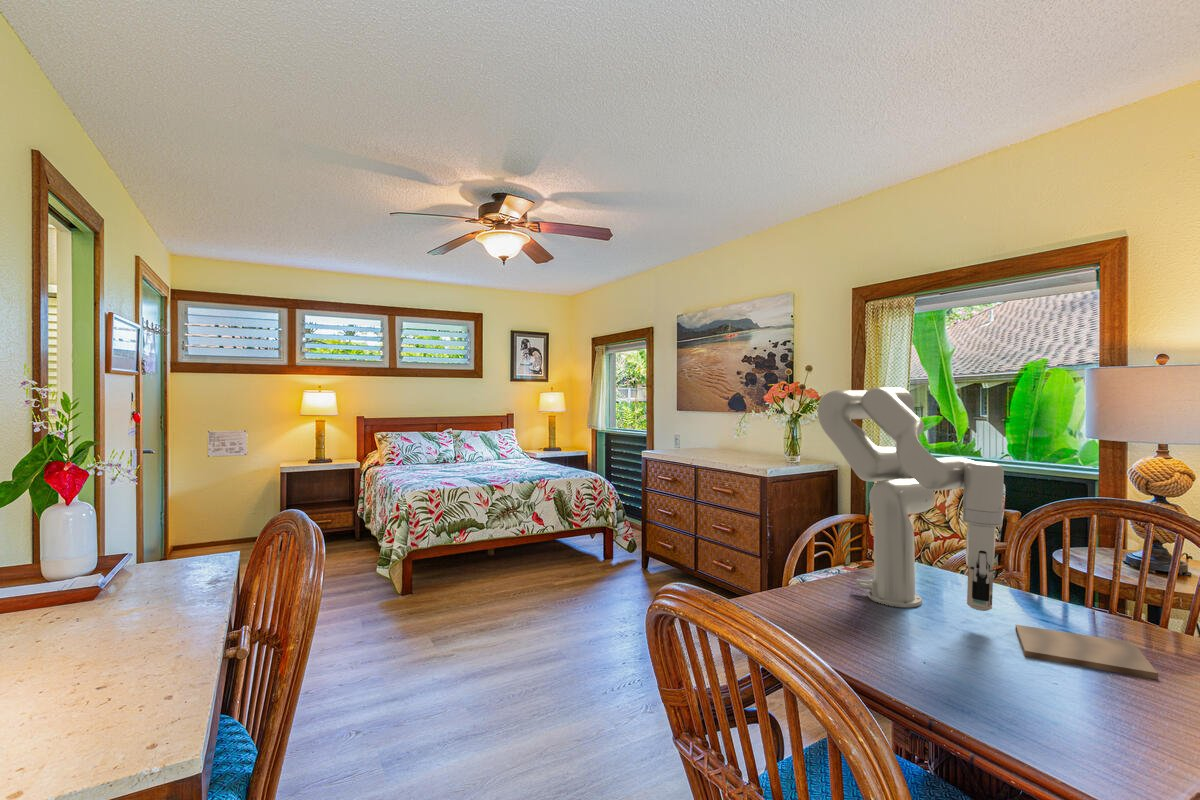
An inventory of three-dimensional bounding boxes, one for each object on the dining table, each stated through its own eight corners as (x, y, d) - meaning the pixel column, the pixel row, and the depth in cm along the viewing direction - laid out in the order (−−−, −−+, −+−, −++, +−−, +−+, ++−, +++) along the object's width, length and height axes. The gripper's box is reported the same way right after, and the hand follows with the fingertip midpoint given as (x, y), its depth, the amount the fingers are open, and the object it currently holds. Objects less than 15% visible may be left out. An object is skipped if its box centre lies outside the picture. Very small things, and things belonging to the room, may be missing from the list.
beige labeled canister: (984, 604, 133) (986, 553, 133) (996, 612, 129) (998, 559, 128) (962, 603, 134) (964, 552, 134) (973, 611, 129) (975, 558, 129)
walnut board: (1025, 656, 117) (1024, 650, 117) (1015, 629, 131) (1015, 624, 131) (1158, 679, 107) (1158, 673, 107) (1132, 648, 120) (1132, 642, 120)
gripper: (961, 507, 140) (958, 582, 140) (964, 522, 125) (961, 604, 126) (998, 511, 136) (996, 587, 137) (1006, 526, 121) (1003, 612, 122)
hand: (979, 595), depth 131 cm, fingers closed on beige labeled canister, 4 cm apart
